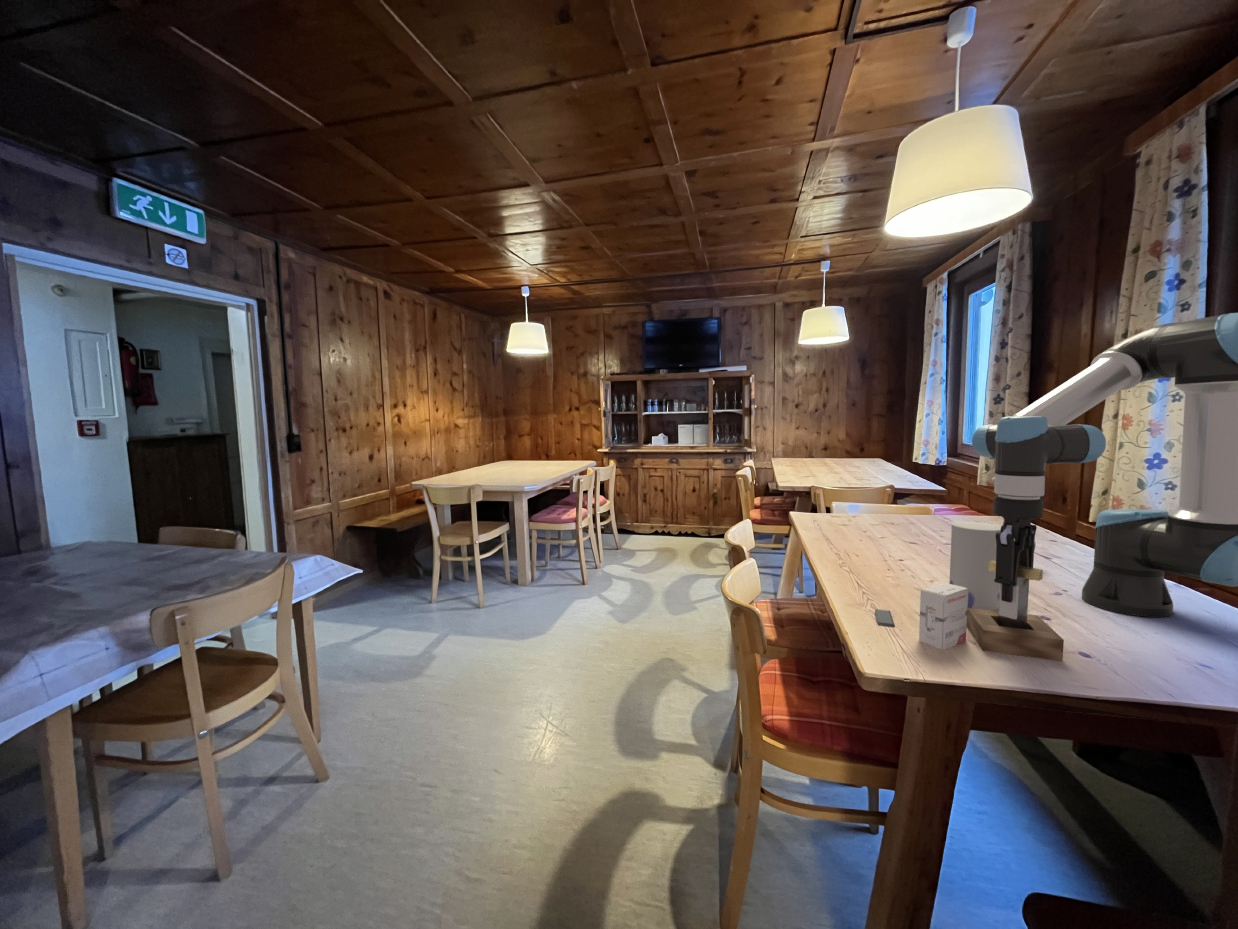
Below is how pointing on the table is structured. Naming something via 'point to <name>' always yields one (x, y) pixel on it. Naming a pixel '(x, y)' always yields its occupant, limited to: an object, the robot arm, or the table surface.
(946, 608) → the ink box
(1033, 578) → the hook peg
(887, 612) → the mat
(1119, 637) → the table surface
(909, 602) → the table surface
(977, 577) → the container
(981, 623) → the block
